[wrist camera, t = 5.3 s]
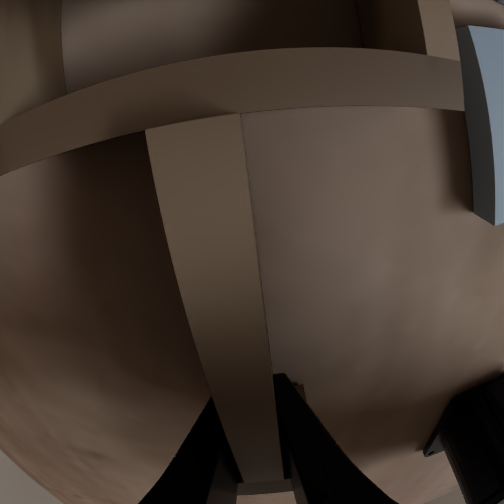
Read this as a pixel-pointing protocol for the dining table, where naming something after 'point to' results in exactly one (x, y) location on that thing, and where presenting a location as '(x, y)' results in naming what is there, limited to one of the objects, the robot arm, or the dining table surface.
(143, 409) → the dining table surface
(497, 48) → the blue-grey flat block
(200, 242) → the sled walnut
